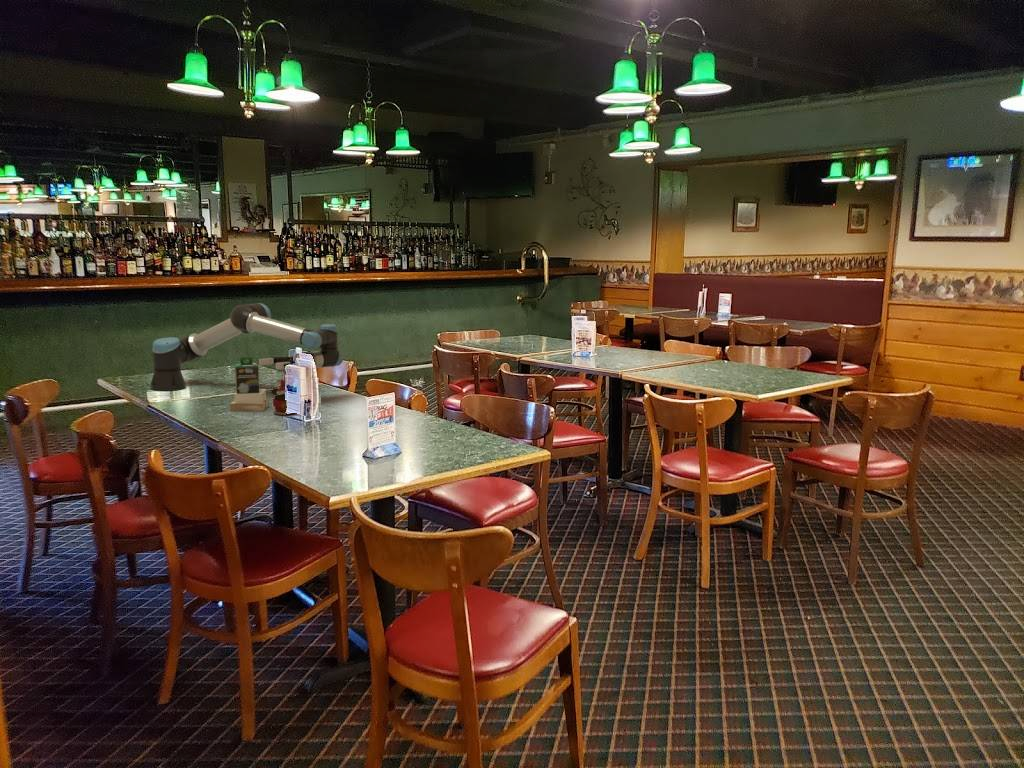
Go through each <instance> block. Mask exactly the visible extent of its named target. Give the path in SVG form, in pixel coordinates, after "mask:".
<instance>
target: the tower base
mask: <svg viewBox="0 0 1024 768" xmlns="http://www.w3.org/2000/svg"><path fill="white" fill-rule="evenodd" d="M269 401H270V399H269V397H266V399H265V400H264V402H263V403H235V399H234V400H233V401H231V402H230V403H229V411H230V412H264V411H265V410H266V409H267V408H268V406H269V404H270V402H269Z"/></svg>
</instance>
